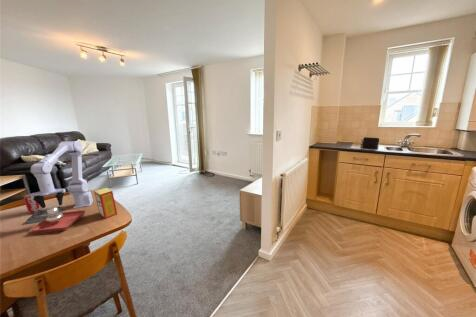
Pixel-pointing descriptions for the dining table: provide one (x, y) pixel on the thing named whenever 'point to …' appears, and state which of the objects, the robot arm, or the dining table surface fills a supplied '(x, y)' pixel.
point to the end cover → (53, 214)
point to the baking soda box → (105, 202)
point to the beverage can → (31, 204)
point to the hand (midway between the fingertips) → (52, 206)
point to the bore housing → (37, 216)
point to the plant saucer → (59, 222)
